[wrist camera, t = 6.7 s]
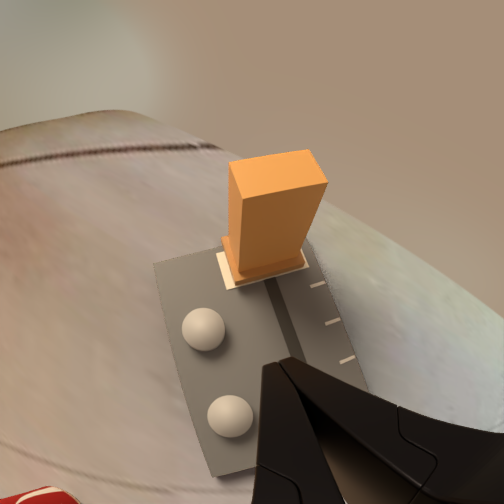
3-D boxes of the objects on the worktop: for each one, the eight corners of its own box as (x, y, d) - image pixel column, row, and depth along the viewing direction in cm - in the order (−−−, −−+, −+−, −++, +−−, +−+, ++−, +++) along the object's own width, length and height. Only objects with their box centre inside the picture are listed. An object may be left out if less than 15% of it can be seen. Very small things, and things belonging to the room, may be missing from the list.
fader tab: (303, 267, 22) (340, 190, 14) (235, 286, 21) (237, 211, 13) (286, 227, 24) (310, 141, 16) (221, 242, 23) (218, 155, 15)
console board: (370, 416, 18) (383, 417, 17) (213, 473, 16) (211, 481, 14) (298, 234, 25) (304, 219, 23) (156, 270, 23) (150, 257, 21)
